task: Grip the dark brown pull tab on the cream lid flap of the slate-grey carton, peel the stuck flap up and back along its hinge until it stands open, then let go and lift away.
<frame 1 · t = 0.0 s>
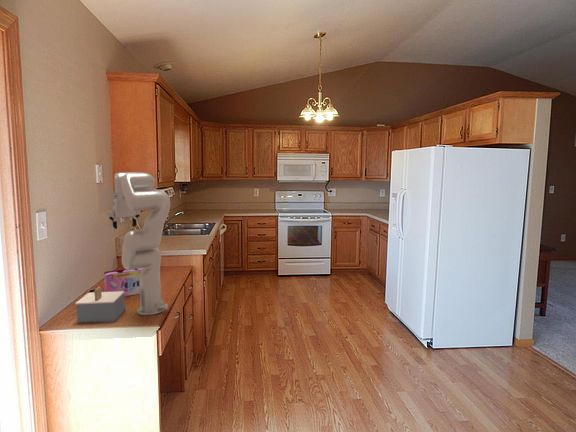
hand: (125, 227, 201), 37 cm above the table, tool pointing down, fingers open, 9 cm apart
carton flap: (100, 292, 172), point 12 cm above the table, hinge at 0.0°
carton: (102, 316, 174), on the table
gum box: (128, 294, 206), on the table
soap bottle: (147, 281, 229), on the table
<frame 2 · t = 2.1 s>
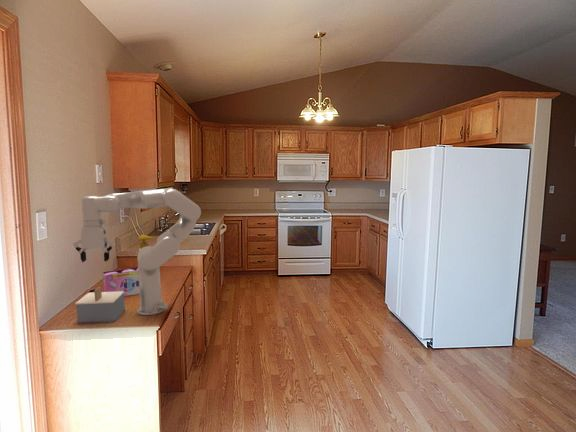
hand: (95, 261, 168), 27 cm above the table, tool pointing down, fingers open, 9 cm apart
nothing on the table moved.
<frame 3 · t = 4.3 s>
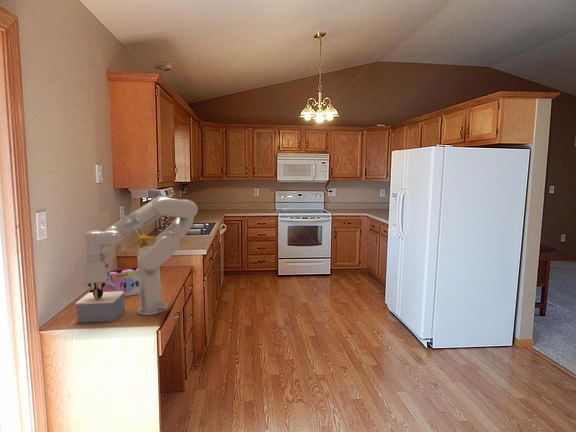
hand: (98, 296, 170), 11 cm above the table, tool pointing down, fingers closed
carton flap: (100, 292, 172), point 12 cm above the table, hinge at 0.0°, touching gripper
everything else where it was.
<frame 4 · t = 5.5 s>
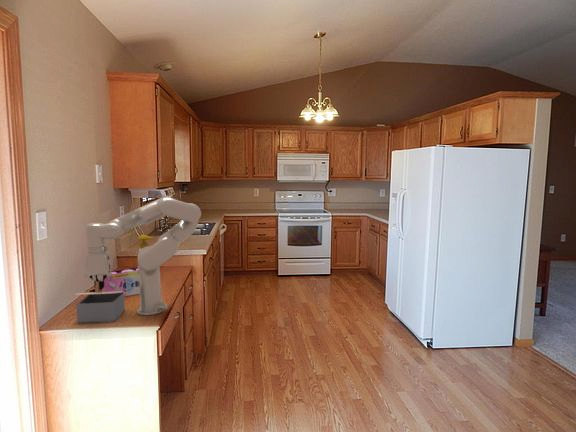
hand: (99, 288, 172), 14 cm above the table, tool pointing down, fingers closed
carton flap: (101, 287, 173), point 14 cm above the table, hinge at 16.8°, touching gripper
everything else where it was.
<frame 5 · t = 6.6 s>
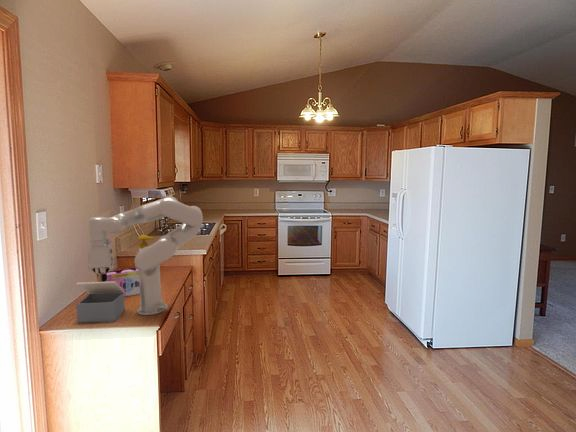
hand: (102, 281, 175), 16 cm above the table, tool pointing down, fingers closed
carton flap: (102, 282, 175), point 16 cm above the table, hinge at 36.3°, touching gripper
everything else where it was.
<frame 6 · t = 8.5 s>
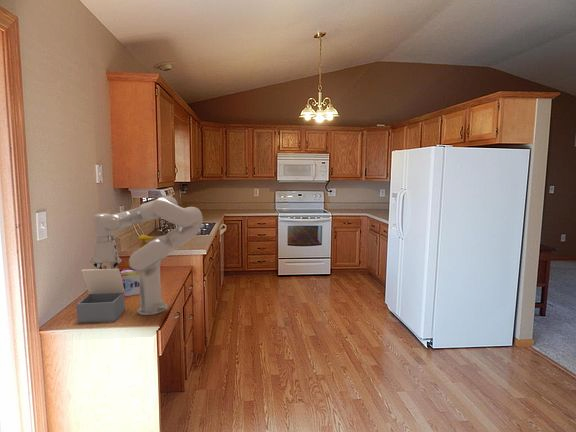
hand: (107, 275, 181), 17 cm above the table, tool pointing down, fingers open, 4 cm apart
carton flap: (105, 277, 179), point 17 cm above the table, hinge at 66.0°
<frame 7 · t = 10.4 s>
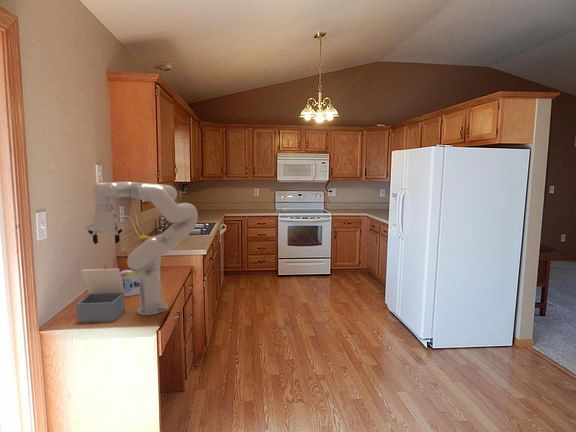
hand: (106, 243, 181), 33 cm above the table, tool pointing down, fingers open, 9 cm apart
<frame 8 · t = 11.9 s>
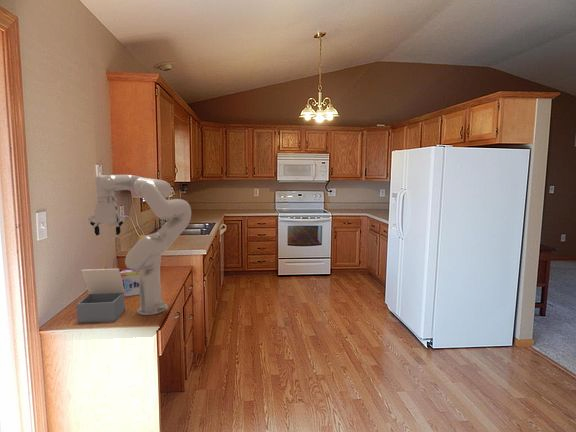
hand: (107, 234, 185), 36 cm above the table, tool pointing down, fingers open, 9 cm apart
at the end: carton flap at +66° (first picture: +0°) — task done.
